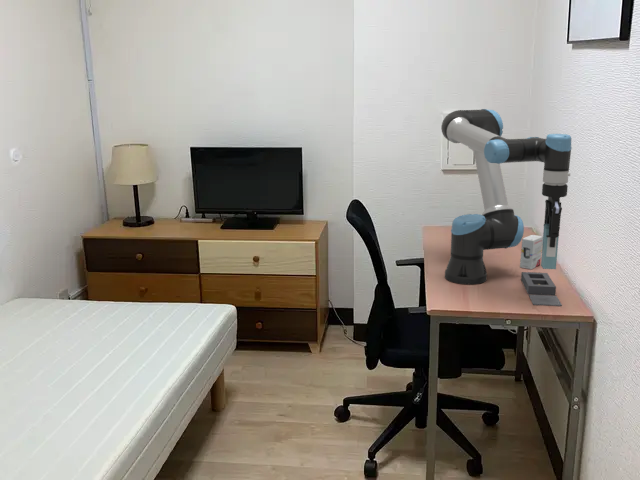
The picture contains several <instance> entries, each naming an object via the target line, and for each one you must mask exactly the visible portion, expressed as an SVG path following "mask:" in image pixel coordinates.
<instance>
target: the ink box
mask: <svg viewBox="0 0 640 480" xmlns="http://www.w3.org/2000/svg"><path fill="white" fill-rule="evenodd" d="M542 244H543V235H542V236H541V235H537V234H536V235H535V234H530V235H528V236H525V237H522V239H521V250H520V251H521V252H520V259H519V260H520V262H519V268H523V269H527V270H533V269H535V268H537V267H538V266H539V265H540V266H541V257H542Z"/></svg>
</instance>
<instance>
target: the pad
mask: <svg viewBox="0 0 640 480" xmlns="http://www.w3.org/2000/svg"><path fill="white" fill-rule="evenodd" d="M528 297H529V299H530V301H531V303H532V305H533V306H545V307H546V306H547V307H548V306H550V307H562V306H563V304H562V302H561V301H560V299H559V297H558V296H557V295H534V294H528Z"/></svg>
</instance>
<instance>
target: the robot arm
mask: <svg viewBox="0 0 640 480" xmlns="http://www.w3.org/2000/svg"><path fill="white" fill-rule="evenodd" d="M503 129H504V122H503V120H502V117H501V116H500V114H499V113H498V112H497V111H495V110H494V109H487V108H482V109H458V110H454V111H451V112H450V113H448V114H447V115H446V116H445V117H444V118H443V120H442V122H441V133H442V135H443V137H444V138H445V139H446V140H448V141H449V142H451V143H453V144H462V145H464V146H466V147H468V149H469V150H472V151H473V156H474V161H475V166H476V172H477V175H478V178H477V179H478V182H479V188H480V192H481V196H482V198H481V199H482V203H483V209H484V211H483V213H482V214H478V213H467V214H462V215H459V216H456V217H455V218H454V219H453V220H452V224H451V230H450V232H451V236H450V237H451V239H450V257H449V260H448V263H447V265H446V269H445V271H444V278H445V280H446V281H448V282H451V283H455V284H460V285H479V284H482V283H485V282H486V281H487V280H488V279H487V276H488V274H487V269H486V266H485V263H484V262H485V261H484V251H489V250H497V249H509V248H514V247H517V246H518V245H519V244H520V243H521V242H522V239H523V238H524V237H523V236H524V232H525V226H524V222H523V219H522V218H521V217H520V216H518V215H516V214H515V210H514V208H512V207H511V206H509V204H508V203H509V202H508V198H507V194H506V187H505V184H504V183H505V182H504V178H503V173H502V169H501V167H502V166H501V164H507V163H508V164H510V163H527V162H539V163H540V162H541V163H543V172H542V173H543V174H542V182H543V184H542V187H541V195H542V196H544V197H547V199H545V209H544V210H545V211H544V223H543V225H544V224H549V235H546V237H548V239H547V251H546V257H555V254H556V243H557V237H559V236H560V229H559V228H561V227H560V226H561V217H562V212H563V211H562V210H563V208H562V202H561V198H565V197H567V196H568V187H569V186H568V182H569V177H571V173H570V172H569V171H570V163H571V153H572V149H573V147H572V136H571V135H570V134H567V133H549V134H547V135H546V138H542V137H539V136H529V137H526V138H505V137H503V136H502V135H503V132H504V131H503Z"/></svg>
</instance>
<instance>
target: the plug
mask: <svg viewBox="0 0 640 480" xmlns="http://www.w3.org/2000/svg"><path fill="white" fill-rule="evenodd" d="M560 228H561V227H560ZM560 228H559V230H561V229H560ZM546 235H549V224H544V223H543V233H542V237H543V242H542V251H541V260H540V267H541V268H542V269H543V270H557V259H558V250H559V249H558V248H559V247H558V246H559V237H557V243H556V254H555V257H546V251H547V239H548V237H546Z"/></svg>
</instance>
